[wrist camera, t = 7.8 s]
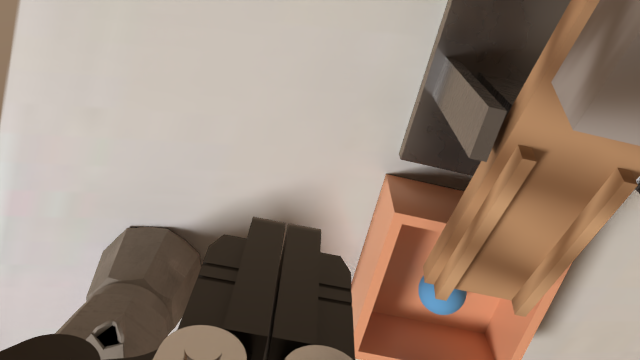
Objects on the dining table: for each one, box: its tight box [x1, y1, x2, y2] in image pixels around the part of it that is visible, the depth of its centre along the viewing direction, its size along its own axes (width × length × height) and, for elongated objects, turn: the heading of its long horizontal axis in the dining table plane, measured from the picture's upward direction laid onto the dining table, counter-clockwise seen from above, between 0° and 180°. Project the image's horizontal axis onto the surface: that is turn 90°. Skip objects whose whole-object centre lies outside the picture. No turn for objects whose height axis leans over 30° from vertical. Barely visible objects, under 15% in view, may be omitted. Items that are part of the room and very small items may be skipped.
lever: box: [423, 0, 640, 317], centre depth 29 cm, size 23×8×6 cm, turn 166°
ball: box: [418, 275, 467, 315], centre depth 45 cm, size 4×4×4 cm
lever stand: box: [399, 0, 640, 193], centre depth 34 cm, size 16×13×13 cm
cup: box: [351, 174, 572, 360], centre depth 45 cm, size 14×14×6 cm
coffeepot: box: [55, 227, 201, 360], centre depth 41 cm, size 15×9×18 cm, turn 156°
